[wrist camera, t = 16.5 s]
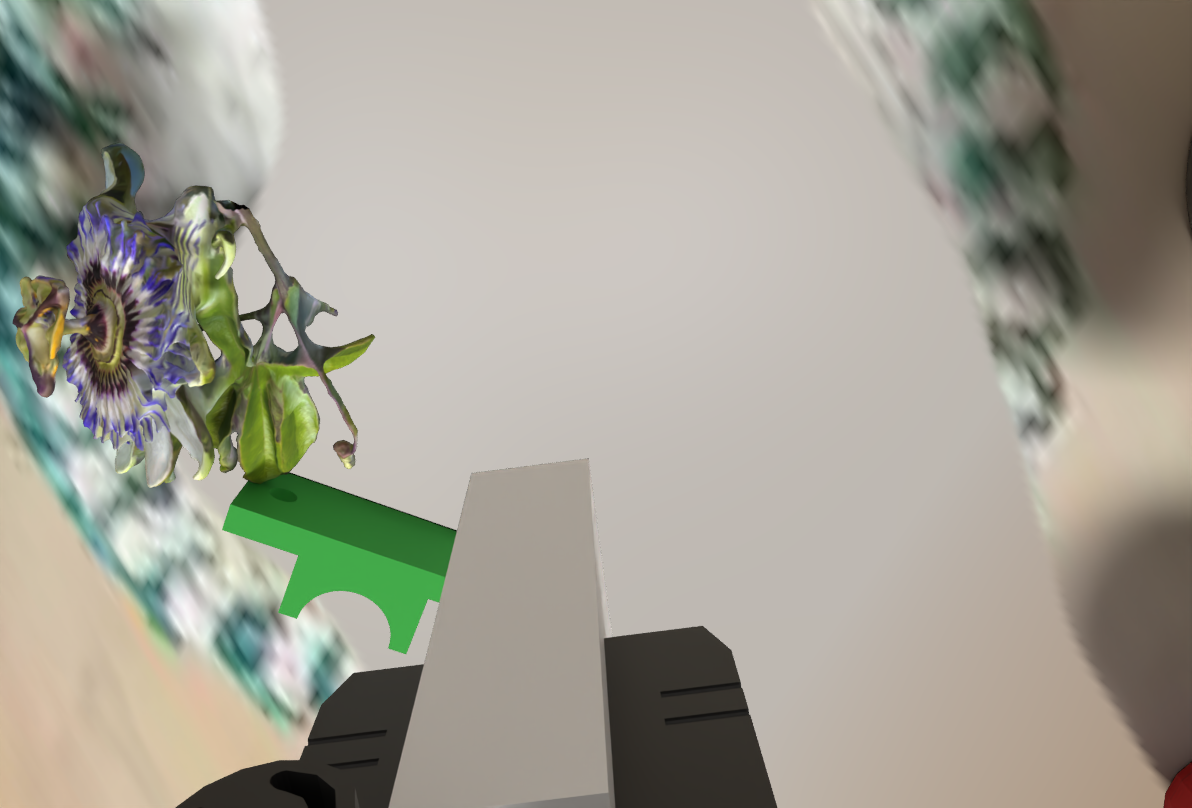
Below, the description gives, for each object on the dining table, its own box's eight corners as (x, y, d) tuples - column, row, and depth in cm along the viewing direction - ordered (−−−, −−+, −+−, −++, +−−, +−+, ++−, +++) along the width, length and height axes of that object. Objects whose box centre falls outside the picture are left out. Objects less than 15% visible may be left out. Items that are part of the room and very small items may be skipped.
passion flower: (185, 265, 46) (5, 111, 35) (423, 267, 45) (315, 106, 33) (133, 517, 43) (-84, 436, 31) (389, 529, 41) (256, 448, 30)
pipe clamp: (237, 538, 44) (201, 588, 40) (262, 461, 44) (229, 503, 39) (484, 622, 46) (476, 679, 42) (515, 550, 45) (510, 600, 41)
